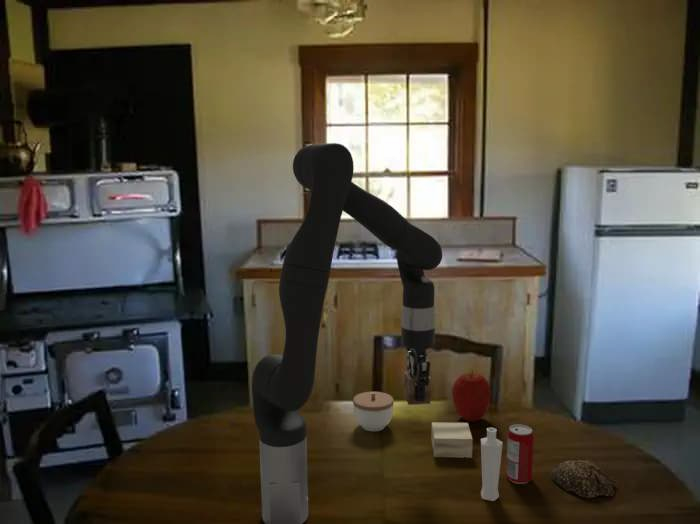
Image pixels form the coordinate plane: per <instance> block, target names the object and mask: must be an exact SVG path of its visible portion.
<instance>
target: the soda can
mask: <svg viewBox="0 0 700 524" xmlns="http://www.w3.org/2000/svg"><path fill="white" fill-rule="evenodd" d="M533 457H534V434H533V429H532V428H531V427H529V426H528V425H524V424H520V423H519V424H512V425H510V426H509V428H508V432H507V442H506V468H505V469H506V470H505V471H506V472H505V476H506V478H507V479H508V480H509V481H510V482H512V483H513V484H520V485H525V484H528V483H529V482H530V481H531V480H532V479H533V462H534V461H533Z"/></svg>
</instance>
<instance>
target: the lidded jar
mask: <svg viewBox="0 0 700 524" xmlns="http://www.w3.org/2000/svg"><path fill="white" fill-rule="evenodd" d="M394 401H395V399H394V397H393V396H392V395H391V394H388V393H387V392H386V393H385V392H382V391H366V392H365V391H364V392H360V393H358V394H356V395H355V396H354V397H353V399H352V404H353V413H354V417H355V421H356V422H357V423H358V424H359V426H361V428H362V429H363V430H364V431H366V432H380V431H382V430H384V429H385V427H386V426H387V425H389V423H390V422H391V420H392V417H393V412H394V404H395V402H394Z"/></svg>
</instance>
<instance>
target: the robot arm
mask: <svg viewBox="0 0 700 524" xmlns="http://www.w3.org/2000/svg"><path fill="white" fill-rule="evenodd" d="M292 161H293V162H292V170H293V175H294V178H295V179H296V180H297V182H298V183H299V184H300V185H301V186H302V187H303V188H305V189H307V190H308V191H310V196H309V197H310V198H309V203H308V209H307V211H306V214H305V217H304V218H303V221H302V223H301V225H300V226H299V228H298V230H297V231H296V233H295V234H294V236H293V238H292V240H291V241H290V244H289V245H288V247H287V248H286V252H285V254H284V258H283V262H282V266H281V273H280V276H279V277H280V278H279V283H278V284H279V285H278V294H279V295H278V296H279V302H280V308H281V311H282V315H283V321H284V328H285V329H284V330H285V340H284V341H285V342H284V347H283V348H284V349H283V352H282V353H283V354H278V353H277V354H275V353H273V354H269V355H268V354H267V355H266V356H264V357H262V358H261V359H260V360H259V361H258V362H257V364H256V366H255V367H254V370H253V373H252V378H251V396H252V397H251V398H252V408H253V416H254V423H255V426H256V429H257V430H258V433H259V434H258V439H259V461H260V462H259V463H260V464H259V466H260V467H259V468H260V469H259V470H260V489H261V490H260V491H261V494H260V495H261V512H262V513H261V516H262V517H261V518H262V522H264V524H304V523H305V522H306V521H307V519H308V517H309V495H308V494H309V493H308V488H309V487H308V460H307V459H308V453H307V452H308V451H307V448H308V447H307V442H308V441H307V424H306V420H305V419H304V418H303V416H302V415H301V414H300V412H299V411H298V410H300V409H302V408H303V407H304V406H305V405H306V403H307V402H308V400H309V398H310V396H311V395H312V392H313V389H314V383H315V382H314V381H315V377H316V376H315V375H316V366H317V363H316V362H317V353H318V343H319V342H318V341H319V333H320V328H321V323H322V322H321V321H322V315H323V309H324V303H325V298H326V295H327V291H328V287H329V286H328V285H329V279H330V274H331V269H332V263H333V258H334V250H335V247H336V242H337V238H338V232H339V227H340V223H341V219H342V215H343V212H344V213H346V214H347V215H348V216H350V218H352V219H353V220H354V221H356V222H358V223H359V224H360V225H362V226H363V227H364V228H365V230H367V231H369V232H370V233H371V234H372V235H373V236H374V237H375V238H377V239H378V240H379V241H380V242H381V243H382V244H384V245H385V246H387V247H389V248H390V249H392V250H396V263H397V268H398V272H399V276H400V280H401V284H402V288H403V289H402V311H401V324H400V325H401V331H400V332H401V339H400V341H401V342H400V343H401V345H402V346H403V347H405V348H406V371H407V372H412V375H414V379H415V382H414V384H415V400H416V401H417V402H419V401H424V400H425V386H428V384H429V376H430V369H431V363H430V361H429V355H428V354H427V352H426V351H427V350H428V349H430V348H432V347H434V345H435V341H436V339H435V338H436V337H435V336H436V335H435V334H436V311H435V284H434V282H433V281H432V280H431V279H430V278H428V277H427V276H426V275H425V271H430V270H434V269H436V268H437V267H438V266H439V265H441V262H442V260H443V250H442V246H441V245H440V243H439V242H438V241H437V240H436V239H435V238H434V237H433V236H432V235H431V234H429V233H428V232H426V231H424V230H422V229H421V228H419V227H417V226H416V225H415V224H412V223H410V222H409V220H408V219H406V218H405V216H403V215H402V214H401V213H400V212H399V211H398V210H397V209H395V207H393V206H391V205H390V204H389V203H388V202H386V201H385V200H384V199H382V198H380V197H378V196H377V195H374V194H372V193H370V192H369V191H367V190H365V189H364V188H362V187H360V186H359V185H357V184H356V183H354V182H353V176H354V170H355V169H354V168H355V167H354V166H355V165H354V160H353V156H352V153H351V152H350V150H349V149H348V148H347V147H346V146H345V145H344V144H341V143H336V142H329V143H315V144H309V145H305V146H303V147H302V148H301V149H299V150H298V151H297V152H296V154H295V156H294V158H293V160H292ZM416 371H417V372H416ZM421 377H423V380H420V378H421Z"/></svg>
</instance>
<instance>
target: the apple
mask: <svg viewBox="0 0 700 524" xmlns="http://www.w3.org/2000/svg"><path fill="white" fill-rule="evenodd" d="M473 372H474V371H473V370H472V371H471V373H469V372H468V373H464V374H461V375H460V376H459V377H458V378H456V380H455V381H454V384H453V385H452V387H451V391H452V392H451V393H452V401H453V405H454V407H455V409H456V412H457V414H458V415H459V417H461V418H462V419H463V420H464V421H466V422H472V423H473V422H478V421H479V420H481V419H482V418H483V417H484V416H485V415H486V413H487V411H488V408H489V406H490V403H491V397H492V391H491V387H490V384H489V381H488V380H487V378H486V377H485V376H484V375H482V374H478V373H473Z"/></svg>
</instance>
